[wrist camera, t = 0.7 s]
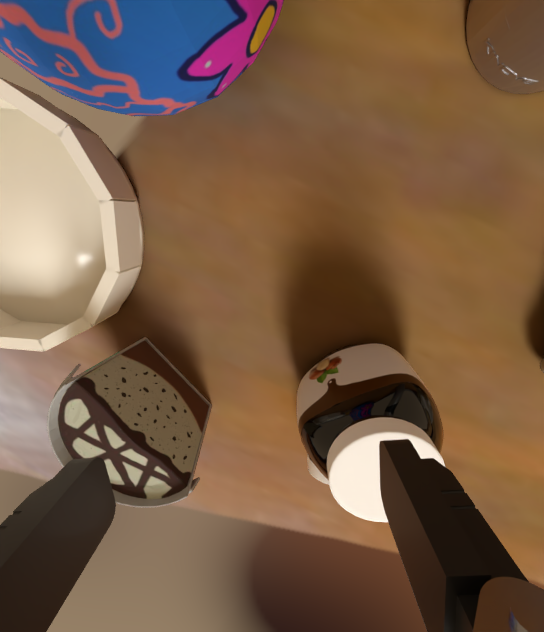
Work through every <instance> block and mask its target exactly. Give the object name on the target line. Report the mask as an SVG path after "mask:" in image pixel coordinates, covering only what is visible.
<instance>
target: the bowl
mask: <svg viewBox="0 0 544 632" xmlns="http://www.w3.org/2000/svg"><path fill="white" fill-rule="evenodd" d="M143 255H144V227H143V219H142V215H141V211H140V207H139V203H138V200H137V197H136V195H135V192H134V189H133V187H132V185H131V183H130V181H129V179H128V177H127V175H126V173H125V171H124V169H123V168H122V166H121V165H120V163H119V162H118V160H117V159H116V157H115V156H114V155H113V153H112V152H111V151H110V150H109V148H108V147H107V146H106V145H105V144H104V142H103V141H102V139H101V138H99V136H98V135H97V134H95V133H94V132H92V131H91V130H90V129H89V128H87V127H86V126H85V125H84V124H82V123H81V122H80V121H78V120H77V119H76V118H74V117H72V116H70V115H69V114H67V113H65V112H64V111H62V110H60V109H58V108H57V107H55V106H54V105H52V104H51V103H50V102H48V101H47V100H45V99H44V98H42V97H41V96H39V95H37V94H35V93H33V92H30V91H28V90H26V89H24V88H22V87H20V86H18V85H15V84H13V83H11V82H9V81H7V80H4V79H3V78H0V348H8V349H20V350H32V351H46V350H48V349H50V348H52V347H54V346H56V345H58V344H60V343H62V342H64V341H66V340H68V339H70V338H72V337H74V336H76V335H78V334H80V333H82V332H83V331H85V330H87V329H89V328H91V327H93V326H95V325H97V324H98V323H100V322H102V321H104V320H105V319H107V318H109V317H111V316H112V315H114V314H116V313H117V312H118V311H119V309H120V307H121V305H122V304H123V303H124V301H125V300H126V299H127V298H128V296H129V295H130V293H131V291H132V290H133V288H134V286H135V284H136V282H137V279H138V277H139V274H140V270H141V266H142V263H143Z"/></svg>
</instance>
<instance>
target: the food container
mask: <svg viewBox="0 0 544 632" xmlns="http://www.w3.org/2000/svg"><path fill="white" fill-rule="evenodd" d="M80 366H81V365H80V364H78V365H77V366H76V367H75V368H74V369H73V371H72V372H71V373H70V374H69V375H68V377H67V378H66V379H65V380H64V381H63V383H62V384H61V385H60V387H59V389H58V390H57V392H56V393H55V396H54V399H53V400H52V403H51V406H50V408H49V411H48V418H47V430H48V436H49V440H50V444H51V447H52V449H53V451H54V454H55V456H56V457H57V459H58V460H59V462H60V464H61V465H62V466H63V467H64V466H65V465H66V464H67V463H68V462H69V461H71V460H73V459H82V458H98V457H99V458H102V459H103V460H104V462H105V464H106V468H107V472H108V475H109V479H110V483H111V486H112V490H113V493H114V497H115V503H118V504H121V505H127V506H132V507H143V508H144V507H145V508H148V507H159V506H165V505H169V504H172V503H175V502H178V501H180V500H182V499H184V498H186V497H187V496H188V494H189V493H191V492H192V491H193V490H194V488H195V486H196V485H197V483H198V481H199V480H200V478H199V477H198V478H196V479H194V480H193V476H194V473H195V469H196V465H197V461H198V457H199V454H200V450H201V446H202V442H203V438H204V435H205V431H206V427H207V423H208V419H209V416H210V412H211V408H212V405H211V403H210V402H209V401H208V400H207V399H206V398H205V397H204V396H203V395H202V394H201V393H200V392H199V391H198V390H197V389H196V388H195V387H194V386H193V385H192V384H191V383H190V382H189V381H188V380H187V379H186V378H185V377H184V376H183V375H182V374H181V373H180V372H179V371H178V369H177V368H176V367H175V366H174V365H173V364H172V363H171V362H170V361H169V360H168V359H167V358H166V357H165V356H164V355H163V354H162V353H161V352H160V351H159V350H158V349H157V348H156V347H155V346H154V345H153V344H152V343H151V342H150V341H149V340H148V339H147V338H146V337H144V338H142V339H140V340H139V341H137V342H135V343H133V344H132V345H130V346H128V347H126V348H125V349H123V350H121V351H119V352H118V353H116V354H114V355H112V356H111V357H109V358H107V359H105V360H104V361H102V362H100V363H98V364H97V365H95V366H93V367H91V368H90V369H88V370H86V371H84V372H83V373H81V374H79V375H77V376H76V377H74V378H73V377H72V376H73V374H74V373H75V372H76V371H77V369H78V368H79V367H80Z"/></svg>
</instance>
